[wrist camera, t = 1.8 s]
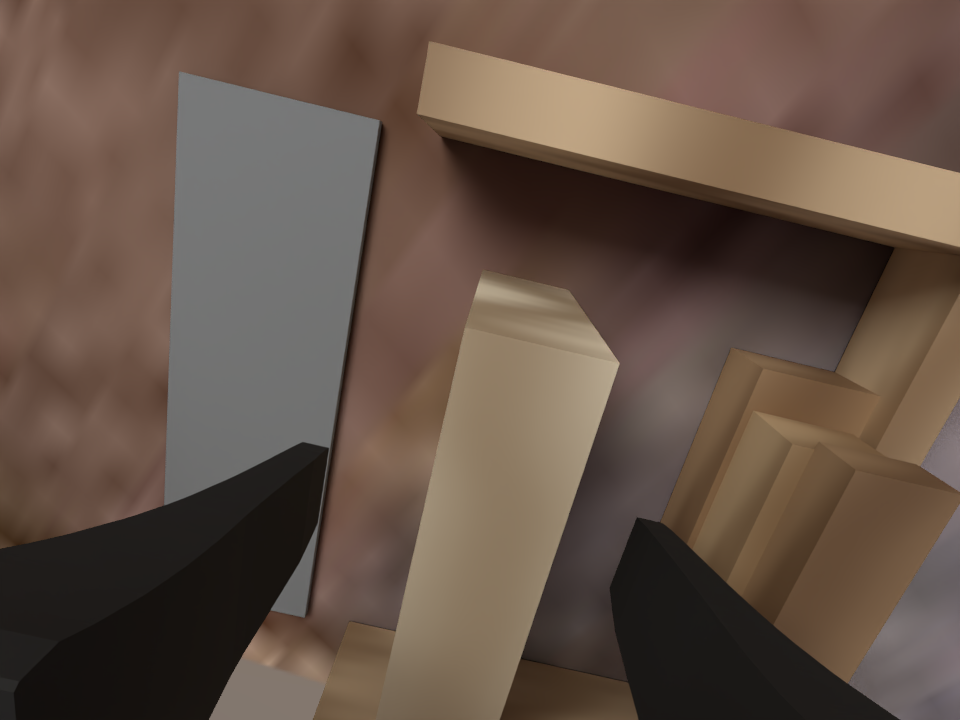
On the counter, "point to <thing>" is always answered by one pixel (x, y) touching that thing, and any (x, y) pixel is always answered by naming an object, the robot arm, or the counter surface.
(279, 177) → the mat
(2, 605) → the robot arm
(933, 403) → the rack
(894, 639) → the counter surface
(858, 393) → the offcuts
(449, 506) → the wooden block
